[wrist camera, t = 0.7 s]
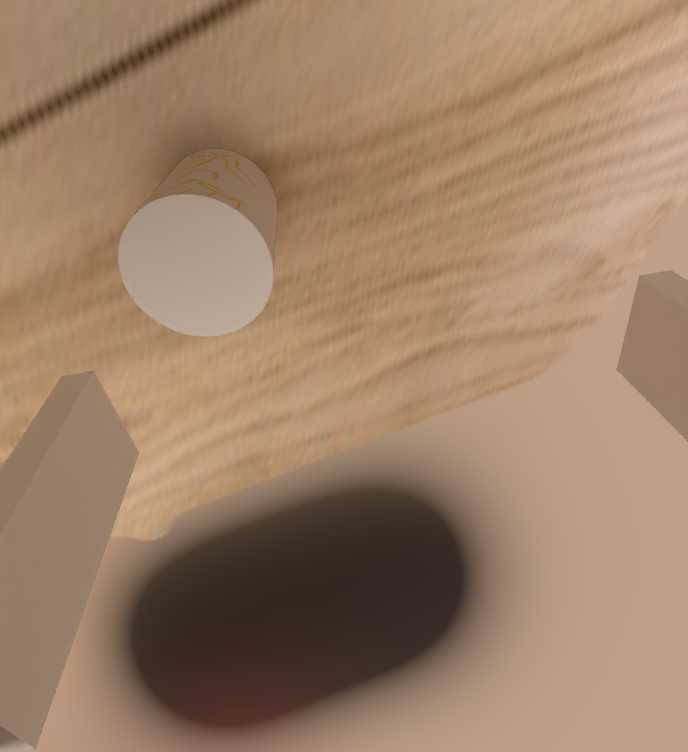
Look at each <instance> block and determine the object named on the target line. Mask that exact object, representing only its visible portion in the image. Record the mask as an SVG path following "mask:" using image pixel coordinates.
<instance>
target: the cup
mask: <svg viewBox="0 0 688 752" xmlns="http://www.w3.org/2000/svg"><path fill="white" fill-rule="evenodd" d="M276 226H277V201H276V197H275V193H274V190H273V188H272V186H271V184H270V182H269V180H268V178H267V177H266V175H265V174H264V173H263V172H262V170H261V169H260V168H259V167H258V166H257V165H256V164H254V163H253V162H252V161H251V160H249V159H248V158H246V157H244V156H243V155H241V154H238V153H236V152H233V151H230V150H226V149H217V148H212V149H204V150H200V151H197V152H194V153H192V154H190V155H189V156H187V157H185V158H184V159H183V160H182V161H181V162H180V163H179V164H178V165H177V166H176V167H175V168H174V169H173V170H172V172H171V173H170V174H169V175H168V176H167V177H166V178H165V180H164V181H163V182H162V183H161V184H160V185H159V187H158V188H157V189H156V190H155V191H154V192H153V194H152V195H151V196H150V197H149V198H148V199H147V201H146V202H145V203H144V204H143V205H142V206H141V208H140V209H139V210H138V211H137V212H136V213H135V214H134V216H133V217H132V218H131V219H130V221H129V222H128V224H127V225H126V227H125V229H124V231H123V233H122V236H121V239H120V243H119V248H118V264H119V270H120V274H121V277H122V280H123V283H124V285H125V287H126V289H127V291H128V293H129V294H130V296H131V297H132V299H133V300H134V301H135V303H136V304H137V305H138V306H139V307H140V308H141V309H142V310H143V311H144V312H145V313H146V314H147V315H148V316H149V317H151V318H152V319H153V320H155V321H156V322H158V323H160V324H161V325H163V326H165V327H167V328H169V329H171V330H174V331H177V332H180V333H183V334H187V335H192V336H202V337H210V336H219V335H224V334H228V333H231V332H234V331H236V330H239V329H241V328H242V327H244V326H246V325H247V324H249V323H250V322H251V321H253V320H254V319H255V318H256V317H257V316H258V315H259V314H260V312H261V311H262V310H263V308H264V307H265V305H266V303H267V301H268V299H269V297H270V294H271V291H272V286H273V279H274V261H275V244H276Z"/></svg>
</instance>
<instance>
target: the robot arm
mask: <svg viewBox="0 0 688 752" xmlns="http://www.w3.org/2000/svg"><path fill="white" fill-rule="evenodd" d="M617 370H618V371H619V373H621V374H622V375H623V376H624V378H626V380H627V381H629V383H630V384H631V385H632V386H633V387H634V388H636V390H637V391H638V392H639V393H640V394H641V395H642V396H643V397H644V398H645V399H646V400H647V401H648V402H649V403H650V404H651V405H652V406H653V407H654V408H655V409H656V410H657V411H658V412H659V413H660V414H661V415H662V416H663V417H664V418H665V419H666V420H667V421H668V422H669V423H670V424H671V425H672V426H673V427H674V428H675V429H676V430H677V431H678V432H679V433H680V434H681V435H682V436H683V437H684V438H685V439H686V440H687V441H688V280H686V279H685V278H683V277H681V276H680V275H678V274H676V273H675V272H673V271H671V270H670V271H664V272H658V273H653V274H648V275H641V276H639V279H638V283H637V288H636V292H635V296H634V300H633V304H632V308H631V313H630V316H629V321H628V325H627V329H626V333H625V337H624V341H623V346H622V350H621V354H620V358H619V362H618V366H617ZM138 454H139V452H138V450H137V448H136V446H135V445H134V443H133V441H132V439H131V437H130V436H129V434H128V432H127V430H126V428H125V427H124V425H123V423H122V421H121V419H120V418H119V416H118V414H117V412H116V410H115V409H114V407H113V405H112V403H111V401H110V400H109V398H108V396H107V394H106V392H105V391H104V389H103V387H102V385H101V383H100V382H99V380H98V378H97V376H96V374H95V373H94V371H90V372H84V373H78V374H73V375H67V376H62V377H61V378H60V380H59V381H58V383H57V384H56V386H55V388H54V389H53V391H52V392H51V394H50V395H49V397H48V398H47V400H46V401H45V403H44V404H43V406H42V407H41V409H40V410H39V412H38V414H37V415H36V417H35V418H34V420H33V421H32V423H31V424H30V426H29V427H28V429H27V430H26V432H25V433H24V435H23V437H22V438H21V440H20V441H19V443H18V444H17V446H16V447H15V449H14V450H13V452H12V453H11V455H10V456H9V458H8V460H7V461H6V463H5V464H4V466H3V467H2V469H1V470H0V752H22V751H27V750H33V749H36V746H37V743H38V741H39V738H40V735H41V732H42V729H43V726H44V723H45V721H46V718H47V715H48V712H49V709H50V706H51V703H52V701H53V698H54V695H55V692H56V689H57V686H58V683H59V680H60V678H61V675H62V672H63V669H64V666H65V663H66V660H67V658H68V655H69V652H70V649H71V646H72V643H73V640H74V637H75V635H76V632H77V629H78V626H79V623H80V620H81V617H82V615H83V612H84V609H85V606H86V603H87V600H88V597H89V594H90V591H91V589H92V586H93V583H94V580H95V577H96V574H97V572H98V569H99V566H100V563H101V560H102V557H103V554H104V551H105V549H106V546H107V543H108V540H109V537H110V534H111V532H112V529H113V526H114V523H115V520H116V517H117V514H118V511H119V509H120V506H121V503H122V500H123V497H124V494H125V491H126V489H127V486H128V483H129V480H130V477H131V474H132V471H133V468H134V466H135V463H136V460H137V457H138Z"/></svg>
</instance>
